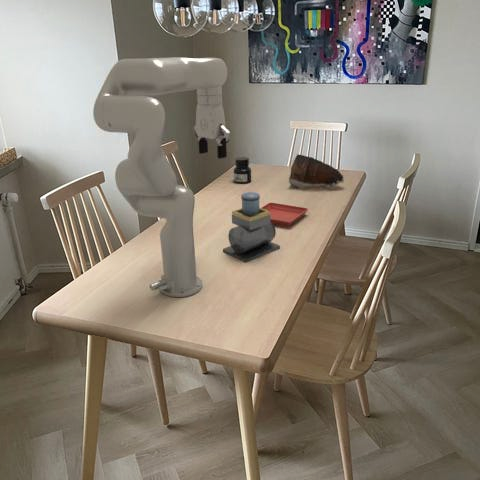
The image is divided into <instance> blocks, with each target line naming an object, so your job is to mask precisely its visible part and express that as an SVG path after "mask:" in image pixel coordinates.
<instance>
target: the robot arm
mask: <svg viewBox="0 0 480 480" xmlns="http://www.w3.org/2000/svg"><path fill="white" fill-rule="evenodd" d="M227 77H228V67H227V64H226V62H225V61H224V60H223V59H221V58H219V57H218V58H217V57H200V58H192V57H174V56H173V57H152V58H151V57H150V58H123V59H119V60H118V61H117V62H116V63H115V64H114V65H113V66H112V67H111V69H110V71H109V73H108V74H107V76H106V78H105V80H104V83H103V85H102V86H101V88H100V90H99V92H98V94H97V96H96V99H95V101H94V105H93V111H92V112H93V114H92V115H93V120H94V122H95V124H96V125H97V127H98V128H99V129H100V130H102V131H104V132H107V133H119V134H122V133H125V134H135V138H134V140H133V142H132V144H131V145H130V147H129V149H128V153H127V158H125V159H123V160H121V161H120V162H119V163H118V164H117V166H116V168H115V172H114V174H115V175H114V179H115V180H114V181H115V184H116V188H117V190H118V192H119V193H120V194H121V195H122V197H123V198H124V200H125V201H126V202H127V203H128V204H129V206H130V207H131V208H132V209H133V211H134V212H135V213H137V214H138V215H140V216H144V217H150V218H151V217H152V218H159V219H164V220H166V221H165V224H163V226H162V227H161V229H160V232H159V241H160V248H161V259H162V268H163V269H162V271H163V274H162V275H160V279H159V280H158V281H157V282H154V283H150V284H149V288H150V290H151V291H152V292H154V291H155V290H158V291H159V292H160V293H162V294H163V295H166V296H168V297H172V298H182V297H183V298H184V297H189V296H193V295H194V294H196V293H198V292H200V290H201V289H202V288H203V281H202V279H201V278H200V277H199V276H197V267H196V265H197V263H196V252H195V251H196V250H195V239H194V238H195V236H194V234H195V233H194V212H195V202H196V199H195V197H196V196H195V194H194V192H193V191H192V190H191V188H190V187H187V186H185V185H181V184H178V178H177V175H176V173H175V171H174V169H173V167H172V165H171V163H170V162H169V160H168V159H167V157H166V155H165V152H164V151H163V149H162V148H163V147H162V142H163V136H164V130H165V122H166V112H165V108H164V106H163V104H162V102H161V101H159V99H157V98H155V97H152V96H161V95H166V94H170V93H171V94H172V93H177V92H189V91H195V90H196V91H197V93H196V94H197V105H196V109H195V110H196V112H195V125H194V126H193V129H194V132H195V136H196V138H197V141H198V150H199V151H198V153H199V154H207V153H208V152H209V148H208V146H209V145H208V140H215V141H216V143H217V144H218V145H217V147H216V148H217V158H218V159H219V160H220V159H225V158H227V155H228V154H227V145H228V144H229V141H230V136H231V132H230V131H229V129H228V128H226V118H225V111H224V107H223V92H222V91H223V90H222V86H223V85H224V84H225V82H226V81H227V79H228V78H227Z"/></svg>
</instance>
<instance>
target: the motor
mask: <svg viewBox="0 0 480 480" xmlns="http://www.w3.org/2000/svg"><path fill="white" fill-rule="evenodd" d="M231 224H232V225H236V226H235V227H231V228H230V229H229V231H228V236H227V237H228V242H229V246H226V247H224V248H222V252H223V253H225V254H227V255H230V256H231V257H234V258H236V259H238V260H240V261H242V262H244V263H248V262H250V261H253V260H255V259H258V258H260V257H262V256H264V255H267V254H270V253H272V252H275V251H276V250H280V249H281V245H279V244H277V243H275V242H272V241H273V240H274V239H275V237H276V234H277V233H276V231H277V230H276V227H275V226H276V225H274V224H273V223H272V221H270V211H268V210H265V209H262V207H259V214H257V215H254V216H251V217H249V216H247V215H244V214H242V207H241V208H239V209H235V210H231Z"/></svg>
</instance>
